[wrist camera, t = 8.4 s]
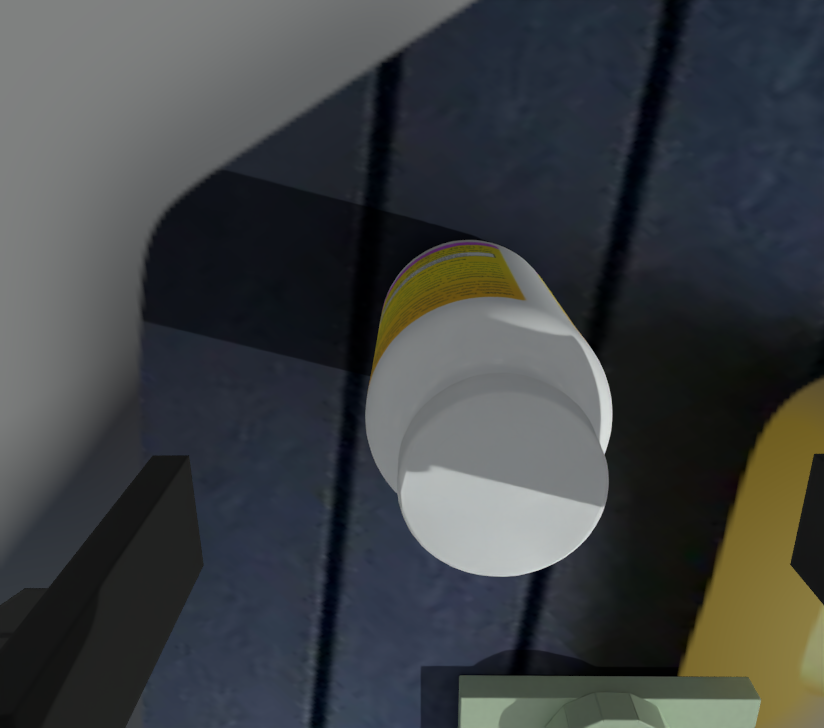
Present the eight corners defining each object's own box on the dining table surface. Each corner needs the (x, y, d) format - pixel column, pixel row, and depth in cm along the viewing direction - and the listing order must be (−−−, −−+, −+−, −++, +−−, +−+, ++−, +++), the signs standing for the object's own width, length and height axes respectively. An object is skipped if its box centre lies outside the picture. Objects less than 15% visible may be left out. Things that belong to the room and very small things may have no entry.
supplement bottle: (349, 338, 27) (291, 517, 15) (447, 201, 25) (470, 282, 13) (482, 427, 29) (525, 657, 16) (585, 302, 27) (720, 460, 15)
